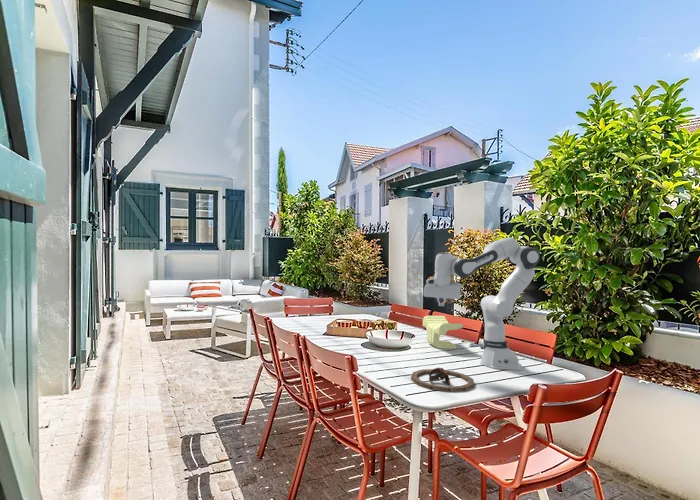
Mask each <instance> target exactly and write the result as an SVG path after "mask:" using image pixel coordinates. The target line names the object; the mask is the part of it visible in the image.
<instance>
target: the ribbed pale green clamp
mask: <svg viewBox="0 0 700 500" xmlns="http://www.w3.org/2000/svg"><path fill="white" fill-rule="evenodd" d="M422 327H425V329H426V336H427V337H426V341H427V342H428V343H429V344H430V345H431V346H432V347H434V348H436V349H457V346H456V344H454V343H453V342H452V341H449V340H440V337H441V336H446V335H447V333H448V331H457V330H461V329H464V323H449V321H448V320H447V318H446V316H445V315H425V316H424V317H423V319H422Z"/></svg>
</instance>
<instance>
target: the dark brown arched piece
mask: <svg viewBox="0 0 700 500" xmlns="http://www.w3.org/2000/svg"><path fill="white" fill-rule="evenodd" d="M432 369H433V370H432V371H430V374H428V380H429V382H430V383H431V382H434V381H435V382H436V381H439V382H440V380H444V381H445V382H447V383H448V384H447V385H448V386H450V385H451V381H450V380H451V379H450V377H449V376H450V375H448V374H447V373H446V371H444V370H445V369H444V368H443V367H435V368H432ZM436 371H437V373H435V372H436ZM433 374H434V375H433Z"/></svg>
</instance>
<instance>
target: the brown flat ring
mask: <svg viewBox="0 0 700 500" xmlns="http://www.w3.org/2000/svg"><path fill="white" fill-rule="evenodd" d="M433 369H434V368H429V369H419V370H416V371H412V374H411V376H410V380H411V382H413V383H414V384H415V385H417V386H420V387H422V388H426V389H429V390H433V391H441V392H446V393H447V392H448V393H449V392H451V393H455V392H467V391H469V390H471V389H474V387H475V385H474V384H475V383H474V381H475V380H474V379H473V378H472V377H470V376H469V375H466V374H465V373H460V372H457V371H454V370H449V369H448V370H447V369H444V371H446V373H447V374H448V376H451V377H452V376H453V377H456V378H459V379H460V378H461V379H462V380H463V381H465V382H467V383H466V384H463V385H454V386H447V385H440V384H439V385H437V384H432V383H428V382H426V381H423V380H421V379H420V378H418V377H419V376H422V375H426V374H427V375H429V374H430V371H432V370H433ZM434 374H438V373H437V371H436V372H435V373H434Z"/></svg>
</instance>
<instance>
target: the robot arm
mask: <svg viewBox="0 0 700 500" xmlns="http://www.w3.org/2000/svg"><path fill="white" fill-rule="evenodd" d="M540 256H541V255H540V252H539V251H538V249H537V248H535V247H531V246H526V245H525V246H524V245H519V243H518V242H517V240H516V239H515V238H513V237H505V238H501V239H498V240H496V241H492V242H490V243H489V244H487V245H486V246H484V248H483V253H482V254H479V255H478V256H475V257H473V258H459V257H456V256H454V255H453V254H452V253H451V252H449V251H447V252H439V253H437V254H436V256H435V260H434V271H435V272H434V276H433V277H432V278H428V279H426V281H425V282H426V284H425V285H424V288H423V292H422V293H423V297H424V298H426V297H427V298H435V299H436V301H437V303H438V307H445V303H446V301H447V299H451V300H459V299H460V298H461V291H462V284H461V283H460V282H458V281H456V282H455V281H451V278H452V275H453V276H456V277H460V278H464V279H466V278H469V277H472V275H473V274H474V273H475V272H476V271H477V270H479V269H480V268H483V267H485V266H489V264H492V263H496V262H499V261H502V260H505V259H507V261H508V262H509V263H511V264H513V265H515V269H514V270H513V272H511V273H510V274H509V275H508V277H507V278H506V279H505V280H504V281H503V282H502V283H501V285H500V290H499V291H498V293H497V294H496V295H492V294H491V295H485V296H484V297H483V298H481V301H480V307H481V310H482V315H483V320H484V321H483V322H484V337H483V341H482V348H483V352H482V356H481V360H480V364H481V365H483V366H486V367H489V368H491V369H494V370H511V371H521V370H523V365H522V364H521V363H520V362H519V357H518V355H517V354H516V353H514V352H513V350H511V349H510V348H509V347H511V344H510V343H509V342H508V341H506V325H505V323H504V321H503V318H507V317H510V316H511V315H512V313H513V311H514V305H515V303H516V301H517V299H518V298H519V296H520V295H521V294H522V293H523V292H524V290H525V289H526V288H528V286H529V285H530V283H531V282H532V280H533V279H534V277H535V275H536V273H535V271H536V270H535V268H536V267H537V264H538V263H539V261H540V258H541V257H540ZM440 299H443V301H442V302H440Z"/></svg>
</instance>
